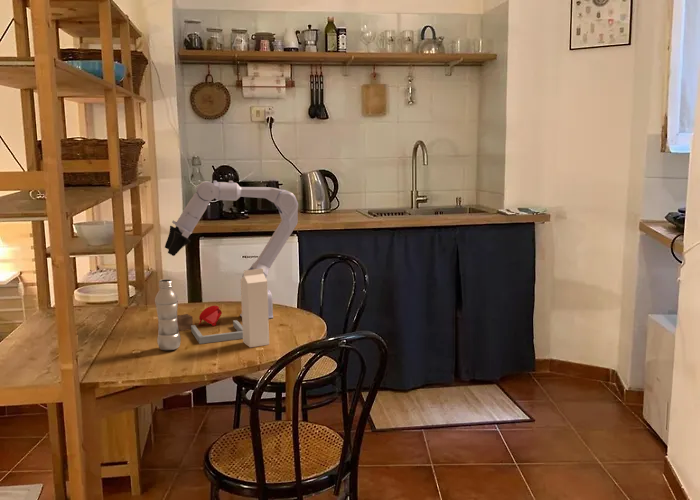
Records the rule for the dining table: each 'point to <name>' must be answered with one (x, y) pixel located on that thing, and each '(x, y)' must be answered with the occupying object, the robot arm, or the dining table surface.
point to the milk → (254, 308)
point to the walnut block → (184, 322)
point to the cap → (210, 315)
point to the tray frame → (218, 337)
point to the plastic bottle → (167, 316)
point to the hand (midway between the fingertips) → (169, 251)
